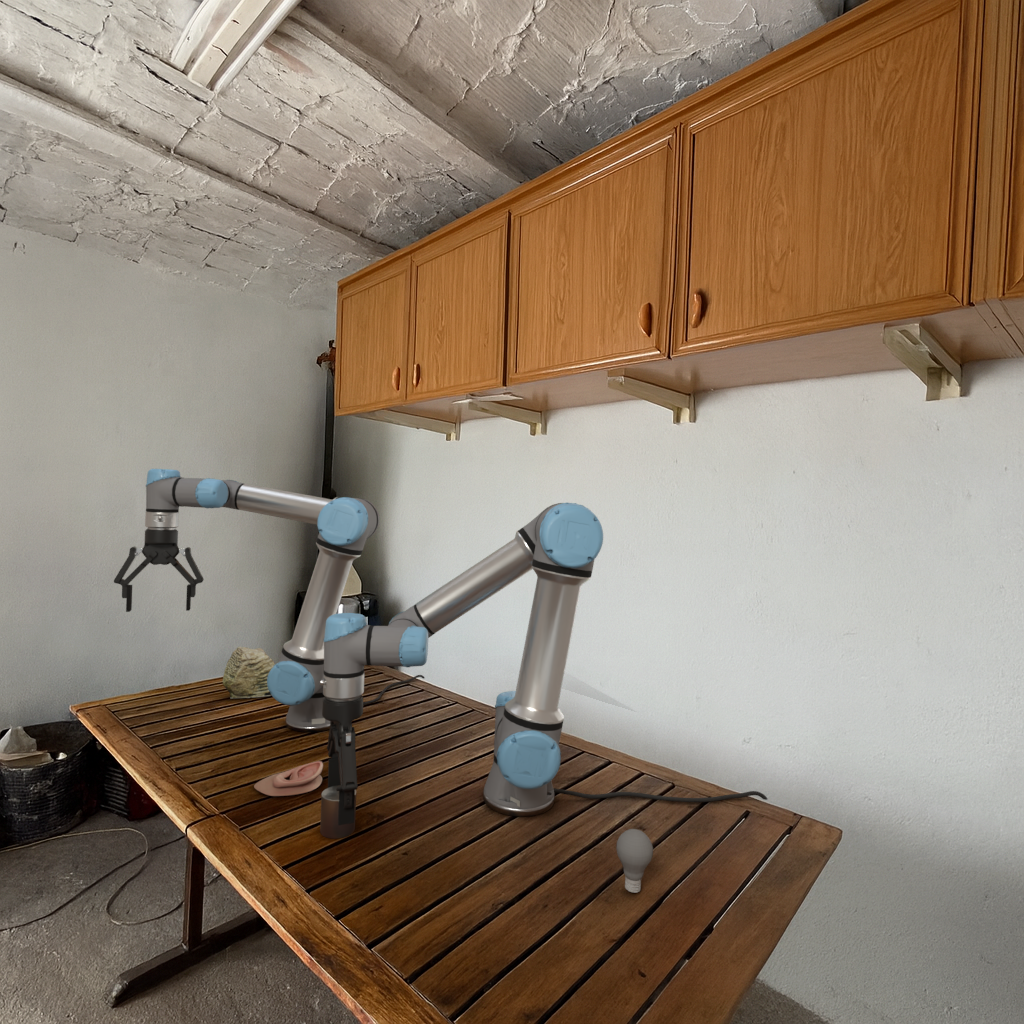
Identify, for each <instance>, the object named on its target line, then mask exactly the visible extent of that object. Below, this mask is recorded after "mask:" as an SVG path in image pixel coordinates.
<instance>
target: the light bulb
mask: <svg viewBox="0 0 1024 1024" xmlns="http://www.w3.org/2000/svg"><path fill="white" fill-rule="evenodd" d="M615 849H616V854H617V857H618V859H619V861H620V863H621V865H622V867H623V873H624V874H623V875H624V876H625V878H624V888H625V890H627V891H628V892H630V893H634V894H635V893H639V892H640V891H641V889H642V887H641V886H642V879H643V877H644V875H645V871H646V868H647V867H648V866H649V864H650V863H651V861H652V859H653V855H654V847H653V843H652V841H651V838H649V836H648V835H647V834H646V833H645V832H643V831H642V830H641V829H636V828H629V829H627V830H625V831H623V832H622V833H621V834H620V835H619V837H618V839H617V841H616V847H615Z"/></svg>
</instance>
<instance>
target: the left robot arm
mask: <svg viewBox="0 0 1024 1024" xmlns="http://www.w3.org/2000/svg"><path fill="white" fill-rule="evenodd" d="M145 495H146V497H145V499H146V500H145V515H144V516H145V519H144V527H146V529H145V530H144V545H143V547H137V546H135V545H134V546H131V547H130V548H129V553H128V556H127V558H126V560H125V561H124V563H123V564H122V566H121V568H120V569H119V571H118V573H117V575H116V576H115V578H114V579H113V583H114V584H117V585H120V586H121V598H122V599H126V601H125V602H126V604H125V612H126V613H130V612H131V611H132V607H133V584H130V583H131V582H132V581H133V580H134V579H135V578H136V577H137V576H138V575H139V574H140V573H141V572H142V571H143V570H144V569H145V568H146V567H147V566H148V565H149V564H151V565H154V566H157V565H162V566H167V565H171V566H172V567H174V568H175V569H176V570H177V572H178V573H179V574H180V575H181V576H182V577H183V578H184V579H185V580H186V581H187V582H188V584H187V585H186V602H185V603H186V604H185V611H191V605H192V602H191V601H192V598H195V596H196V594H197V593H196V591H197V585H199V584H202V583H203V582H204V580H205V579H204V576H203V575H202V573H201V570H200V569H199V567H198V565H197V563H196V562H195V559H194V558H193V555H192V548H191V547H189V546H187V547H181V548H179V545H178V541H179V531H178V529H177V528H178V527H179V517H180V516H179V515H180V511H179V510H180V507H185V508H186V507H189V508H203V509H220V508H227V509H233V510H238V511H244V512H249V513H254V514H259V515H265V516H270V517H275V518H279V519H286V520H290V521H297V522H301V523H306V524H311V525H316V526H317V530H318V532H319V533H318V535H317V539H316V542H315V545H316V546H317V548H318V550H319V552H318V555H317V559H316V562H315V565H314V569H313V571H312V575H311V577H310V581H309V584H308V587H307V591H306V594H305V596H304V599H303V602H302V605H301V609H300V613H299V616H298V618H297V622H296V625H295V627H294V631H293V634H292V636H291V637H292V638H291V639H290V640H288V641H285V642H284V644H283V645H282V649H281V652H280V654H279V657H278V661H277V662H276V663H275V665H274V666H273V668H272V669H271V670H270V672H269V674H268V678H267V686H268V690H269V691H270V693H271V695H272V698H273V699H274V700H275V701H277V702H278V703H279V704H282V705H285V706H289V708H288V711H287V713H286V715H285V726H286V728H287V729H289V730H291V731H294V732H295V731H296V732H301V733H316V732H325V731H329V729H330V721H328V720H326V719H324V718H323V716H322V705H323V698H324V697H325V696H324V695H323V685H320V681H321V680H324V637H325V626H326V620H327V618H328V617H330V616H331V615H334V614H337V612H338V609H339V606H340V603H341V599H342V598H343V597H342V596H343V593H344V590H345V587H346V584H347V581H348V578H349V574H350V571H351V569H352V565H353V562H354V560H356V559H358V558H360V557H361V556H362V554H363V550H364V547H365V546H366V545H365V544H366V541H367V540H368V539H370V538H371V537H373V536H374V534H376V532H377V530H378V529H379V526H380V522H381V521H380V520H381V518H380V513H379V511H378V508H377V507H376V506H375V505H374V504H373V503H372V502H371V501H369V500H368V499H365V498H361V497H349V496H343V497H342V496H341V497H340V496H336V497H334V498H333V499H330V498H326V497H321V496H320V497H319V496H315V495H309V494H304V493H298V492H293V491H287V490H282V489H277V488H272V487H266V486H261V485H257V484H256V485H255V484H250V483H244V482H239V481H237V480H233V479H216V478H210V477H206V478H204V477H203V478H201V477H200V478H199V477H182V476H181V472H180V470H178V469H170V468H169V469H167V468H151V469H148V471H147V475H146V483H145ZM140 554H142V555H143V556H144V557H145V559H144V560H143V561H142V562H141V563H140V564H139V565H138V566H137V567H136V568H135V569H134V570H133V571H132V572H131V573H130V574H129V575H128V576H127V577H126V578H125V579H124V577H125V575H126V573H127V572H128V570H129V568H130V567H131V565H132V563H133V562H134V560H135V559H136V557H137V556H139V555H140ZM179 554H181V555H182V557H185V559H186V561H187V563H188V566H189V567H190V569H191V571H192V573H193V575H194V576H195V578H194V577H193V576H192V575H191V574H190V573H189V571H188V570H187V569H186V568H185V567H184V566H183V565H182V564H181V562H180V561H179V560H178V559H177V558H176V557H178V555H179ZM417 678H422V679H426V677H425V676H424V675H422V674H417V675H414V676H413V677H411V678H409V679H405V680H401V681H396V682H394V683H391V684H388V685H387V686H386V687H384V688H383V690H382V691H380V693H379V694H378V696H377V697H376V698H374V699H370V700H367V701H363V706H365V705H368V704H372V703H375V702H377V701H379V700H380V699H381V697H382V696H383V694H384V693H386V691H387V690H388V689H390V688H392V687H393V686H398V685H401V684H406V683H409V682H412V681H414V680H415V679H417Z"/></svg>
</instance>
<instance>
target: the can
mask: <svg viewBox="0 0 1024 1024" xmlns="http://www.w3.org/2000/svg"><path fill="white" fill-rule="evenodd" d="M339 786H340V785H338V786H332V787H329V788H328V787H326V788H325V789H324V790H323V791H321V801H320V802H321V803H320V822H319V823H320V828H319V833H320V835H321V836H322V837H324V838H326V839H332V840H333V839H335V840H337V839H343V838H346V837H348V836H350V835H352V834H353V833H354V832H355V830H356V809H357V789H356V790H355V801H354V823H350V824H344V825H338V806H339V791H337V790H336V789H337V787H339Z"/></svg>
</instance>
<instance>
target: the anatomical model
mask: <svg viewBox="0 0 1024 1024" xmlns="http://www.w3.org/2000/svg"><path fill="white" fill-rule="evenodd" d="M323 768H324V763H323V761H321V760H318V761H312V762H309V763H306V764H303V765H299V766H297V767H294V768H291V769H288V770H286V771H283V772H278V773H275V774H272V775H269V776H267V777H265V778H263V779H260V780H259V781H257V782H256V783H255V784H254V785H253V788H254V789H255V790H256V791H257V792H259V793H261V794H264V795H266V796H268V797H269V796H270V797H284V796H295V795H301V794H305V793H308V792H312V791H315V790H316V789H317V788H319V787H320V786H321V784H322V783H323V777H322V775H321V774H322V771H323Z"/></svg>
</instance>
